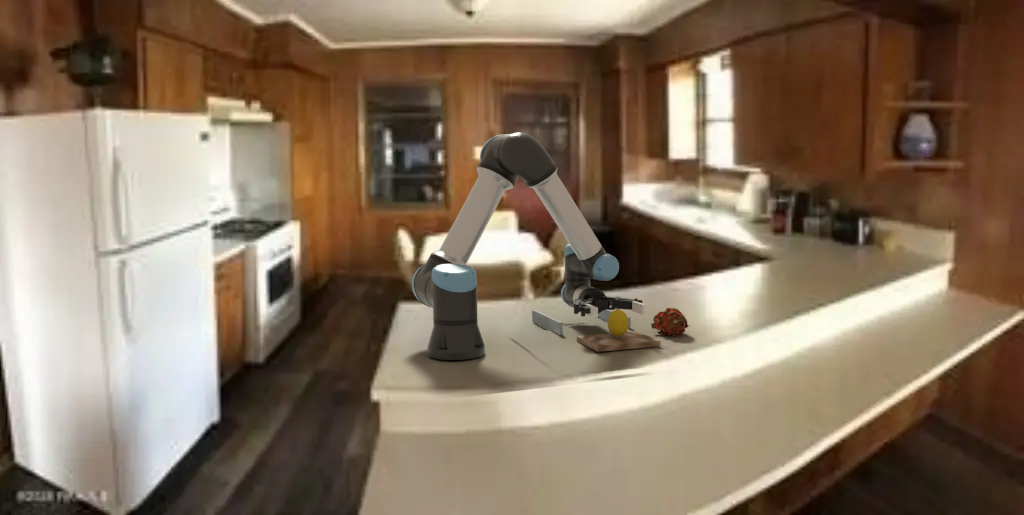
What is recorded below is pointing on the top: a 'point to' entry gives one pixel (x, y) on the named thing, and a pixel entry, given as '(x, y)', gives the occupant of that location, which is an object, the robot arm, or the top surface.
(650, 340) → the board
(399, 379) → the top surface
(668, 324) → the dragon fruit
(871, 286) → the top surface
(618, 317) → the lemon
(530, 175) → the robot arm
